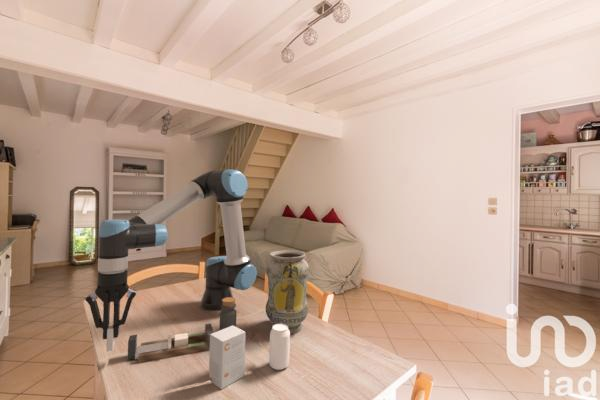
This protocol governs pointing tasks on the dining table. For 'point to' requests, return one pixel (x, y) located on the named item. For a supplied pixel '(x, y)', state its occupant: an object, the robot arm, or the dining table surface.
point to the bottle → (228, 313)
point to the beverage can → (279, 346)
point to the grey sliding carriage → (145, 347)
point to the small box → (227, 356)
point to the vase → (287, 289)
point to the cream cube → (181, 340)
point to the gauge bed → (195, 345)
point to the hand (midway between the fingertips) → (110, 348)
